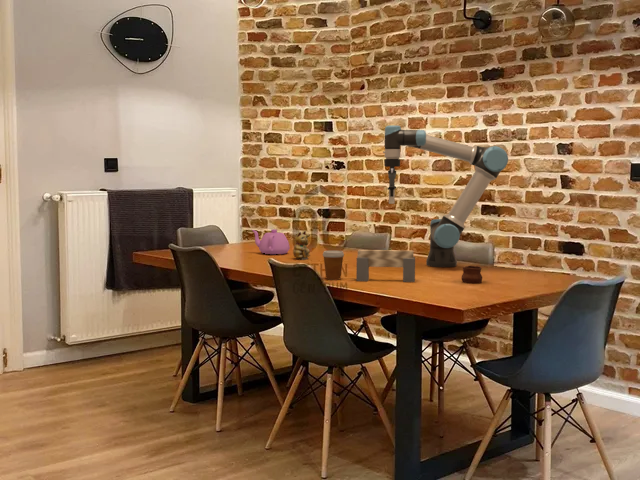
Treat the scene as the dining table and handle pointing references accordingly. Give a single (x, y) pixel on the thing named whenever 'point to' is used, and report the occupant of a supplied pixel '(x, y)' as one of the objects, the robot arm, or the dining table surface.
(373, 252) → the ash rail plank
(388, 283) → the dining table surface
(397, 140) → the robot arm
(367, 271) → the set of support blocks
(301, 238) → the decorative figurine
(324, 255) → the disposable coffee cup
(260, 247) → the teapot
